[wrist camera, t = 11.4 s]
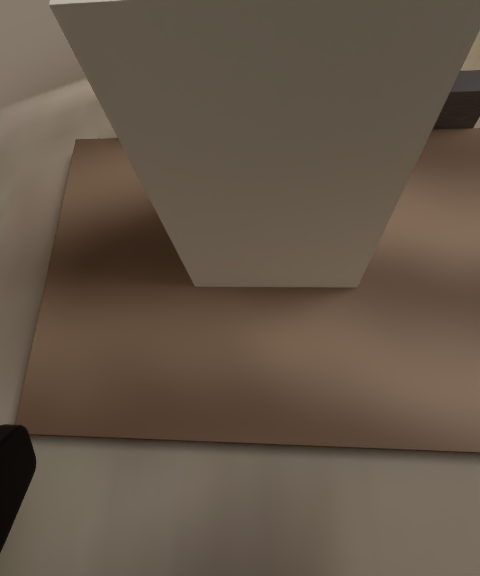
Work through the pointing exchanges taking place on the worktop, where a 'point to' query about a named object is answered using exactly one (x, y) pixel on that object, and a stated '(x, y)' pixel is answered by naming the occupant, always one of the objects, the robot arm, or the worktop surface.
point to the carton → (272, 121)
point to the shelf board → (261, 325)
